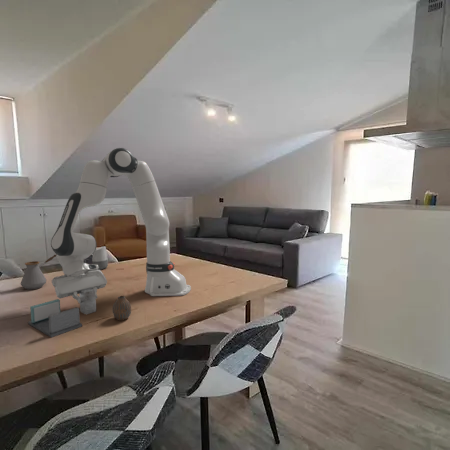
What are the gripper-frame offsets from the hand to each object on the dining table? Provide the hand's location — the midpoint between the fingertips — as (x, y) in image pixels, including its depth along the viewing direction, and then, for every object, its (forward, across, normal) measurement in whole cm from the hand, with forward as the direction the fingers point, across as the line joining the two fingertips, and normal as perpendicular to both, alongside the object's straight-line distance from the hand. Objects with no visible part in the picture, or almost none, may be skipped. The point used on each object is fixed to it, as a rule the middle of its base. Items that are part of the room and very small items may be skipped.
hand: (88, 300), depth 131 cm
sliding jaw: (0, -15, +5) cm, 16 cm away
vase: (+15, +5, -8) cm, 18 cm away
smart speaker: (-42, +38, +49) cm, 75 cm away
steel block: (+3, 0, +4) cm, 5 cm away
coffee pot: (-35, +2, +42) cm, 55 cm away
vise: (+6, -14, +1) cm, 16 cm away
